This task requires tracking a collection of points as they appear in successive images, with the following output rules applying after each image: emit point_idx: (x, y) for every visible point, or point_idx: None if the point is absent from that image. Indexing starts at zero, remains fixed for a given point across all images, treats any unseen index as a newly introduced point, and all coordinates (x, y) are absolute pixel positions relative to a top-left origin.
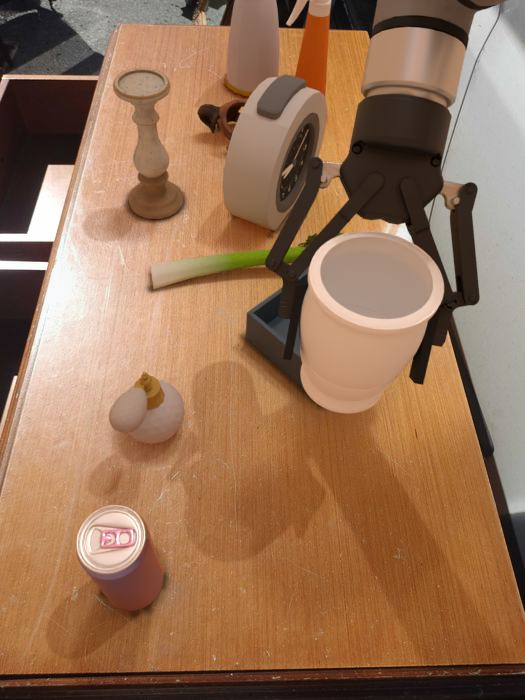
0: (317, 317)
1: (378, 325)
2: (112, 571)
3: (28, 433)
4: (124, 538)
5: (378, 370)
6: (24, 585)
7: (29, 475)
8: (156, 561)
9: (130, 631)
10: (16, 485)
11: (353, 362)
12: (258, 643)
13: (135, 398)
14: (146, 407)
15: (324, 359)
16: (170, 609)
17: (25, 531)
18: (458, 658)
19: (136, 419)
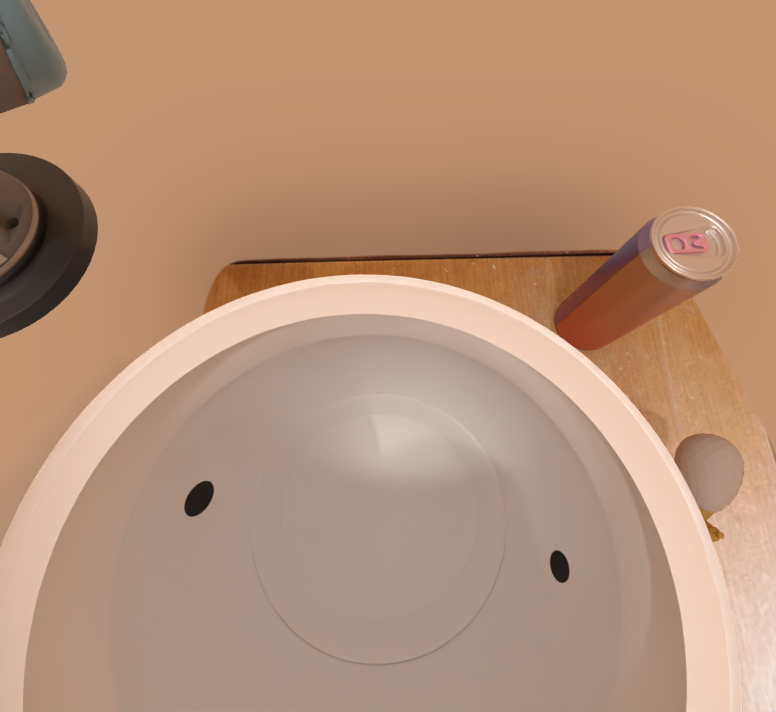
0: (566, 444)
1: (386, 289)
2: (678, 206)
3: (770, 493)
4: (675, 245)
5: (350, 359)
6: (686, 320)
7: (739, 435)
8: (592, 291)
9: (573, 284)
10: (748, 422)
11: (419, 356)
12: (455, 276)
13: (717, 480)
14: (683, 476)
15: (482, 396)
16: (540, 301)
17: (711, 370)
18: (275, 267)
19: (696, 447)
